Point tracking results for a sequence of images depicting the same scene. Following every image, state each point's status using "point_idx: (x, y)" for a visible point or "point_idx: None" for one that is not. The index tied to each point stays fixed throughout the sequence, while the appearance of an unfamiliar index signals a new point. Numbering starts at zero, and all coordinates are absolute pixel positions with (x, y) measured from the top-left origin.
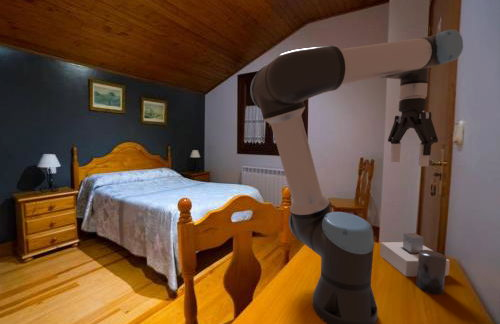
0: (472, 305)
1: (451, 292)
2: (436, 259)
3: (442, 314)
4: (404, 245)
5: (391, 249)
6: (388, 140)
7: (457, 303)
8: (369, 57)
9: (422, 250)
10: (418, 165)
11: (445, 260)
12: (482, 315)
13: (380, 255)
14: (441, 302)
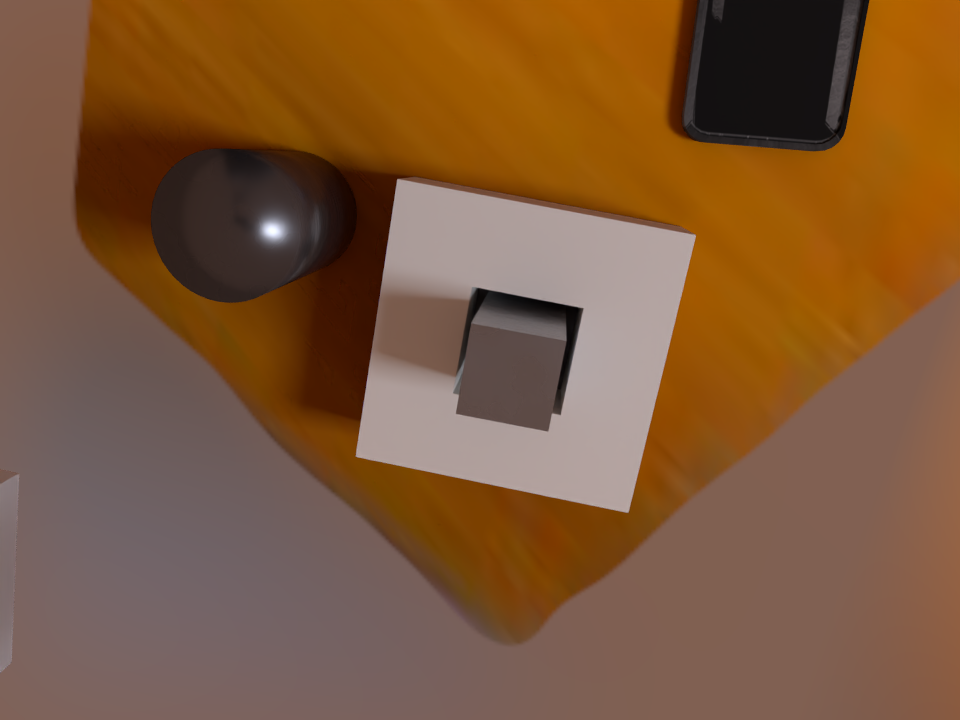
0: (152, 281)
1: None
2: (165, 191)
3: (114, 75)
4: (550, 319)
5: (568, 217)
6: None
7: None
8: None
9: (289, 220)
10: (6, 477)
11: (160, 249)
12: (91, 252)
13: (677, 226)
14: None
